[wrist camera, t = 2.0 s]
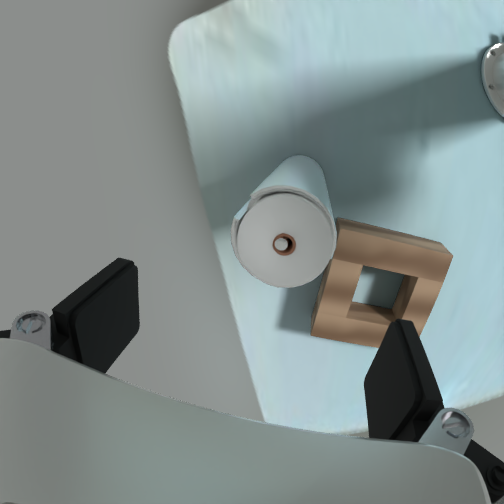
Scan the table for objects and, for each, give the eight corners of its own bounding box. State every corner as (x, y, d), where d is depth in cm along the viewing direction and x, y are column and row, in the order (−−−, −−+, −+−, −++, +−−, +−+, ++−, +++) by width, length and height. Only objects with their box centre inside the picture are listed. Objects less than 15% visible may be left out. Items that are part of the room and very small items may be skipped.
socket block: (337, 217, 42) (340, 228, 37) (440, 242, 40) (453, 255, 36) (311, 316, 48) (310, 335, 44) (404, 333, 46) (411, 352, 42)
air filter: (313, 147, 39) (313, 170, 16) (331, 193, 41) (352, 275, 18) (267, 165, 41) (207, 213, 18) (286, 210, 43) (252, 306, 20)
